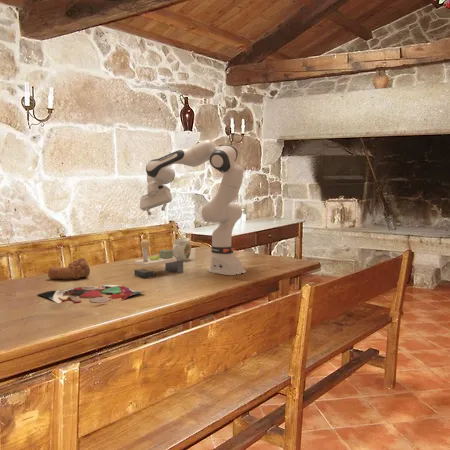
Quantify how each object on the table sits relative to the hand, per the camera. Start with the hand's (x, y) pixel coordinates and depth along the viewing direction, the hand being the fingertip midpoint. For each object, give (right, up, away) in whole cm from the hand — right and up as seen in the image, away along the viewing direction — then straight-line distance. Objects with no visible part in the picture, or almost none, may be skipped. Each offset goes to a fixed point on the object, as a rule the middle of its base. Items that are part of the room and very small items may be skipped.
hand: (156, 212), depth 268 cm
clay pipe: (-42, -36, -21) cm, 59 cm away
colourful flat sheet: (-22, -40, -54) cm, 71 cm away
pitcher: (+11, -30, +32) cm, 46 cm away
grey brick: (+2, -34, -8) cm, 35 cm away
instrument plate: (+1, -28, -10) cm, 29 cm away
